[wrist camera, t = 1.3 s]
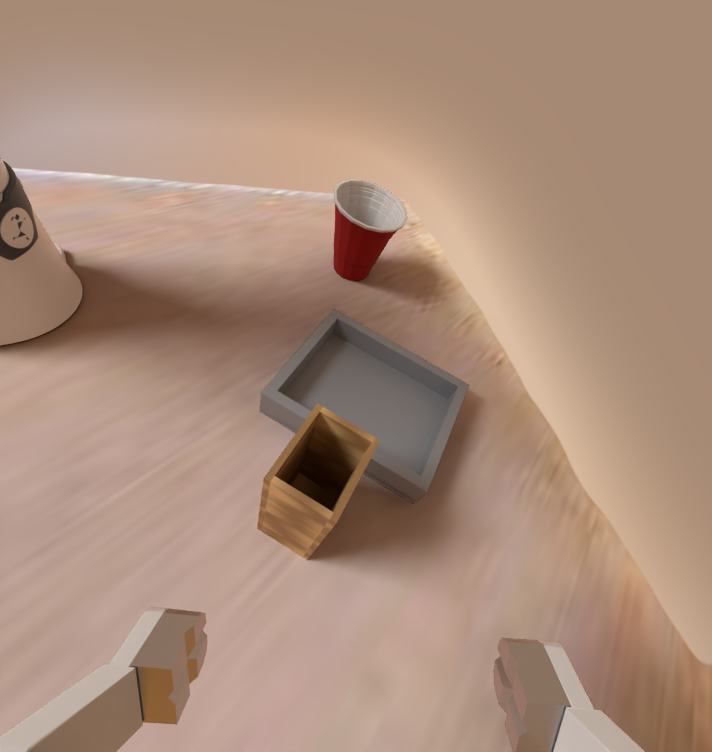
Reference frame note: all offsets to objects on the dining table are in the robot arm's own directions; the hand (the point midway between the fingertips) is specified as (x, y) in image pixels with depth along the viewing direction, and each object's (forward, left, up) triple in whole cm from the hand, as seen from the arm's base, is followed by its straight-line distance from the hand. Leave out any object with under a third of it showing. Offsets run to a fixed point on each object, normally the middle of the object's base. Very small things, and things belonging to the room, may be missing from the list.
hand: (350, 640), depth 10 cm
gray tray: (+5, +25, -27) cm, 37 cm away
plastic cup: (0, +50, -27) cm, 56 cm away
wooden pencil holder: (0, +11, -27) cm, 29 cm away
